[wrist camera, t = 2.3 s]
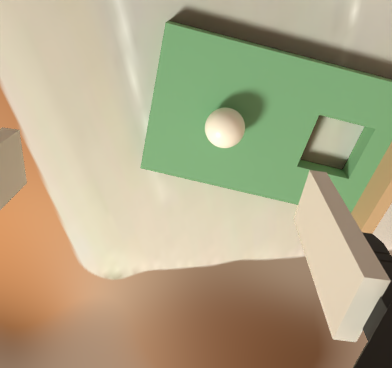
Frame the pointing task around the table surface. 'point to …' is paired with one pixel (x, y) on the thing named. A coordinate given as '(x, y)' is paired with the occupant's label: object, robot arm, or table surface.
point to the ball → (224, 127)
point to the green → (267, 120)
